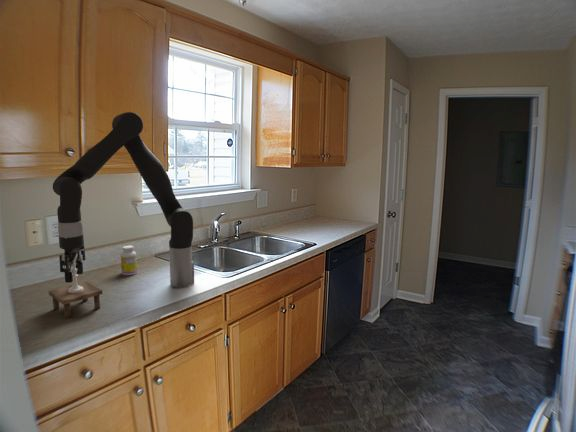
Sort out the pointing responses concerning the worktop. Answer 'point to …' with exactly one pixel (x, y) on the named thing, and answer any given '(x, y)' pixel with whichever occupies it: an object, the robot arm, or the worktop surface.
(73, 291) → the chess piece
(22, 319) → the worktop surface
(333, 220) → the worktop surface
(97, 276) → the worktop surface
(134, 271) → the supplement bottle
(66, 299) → the small wooden table
